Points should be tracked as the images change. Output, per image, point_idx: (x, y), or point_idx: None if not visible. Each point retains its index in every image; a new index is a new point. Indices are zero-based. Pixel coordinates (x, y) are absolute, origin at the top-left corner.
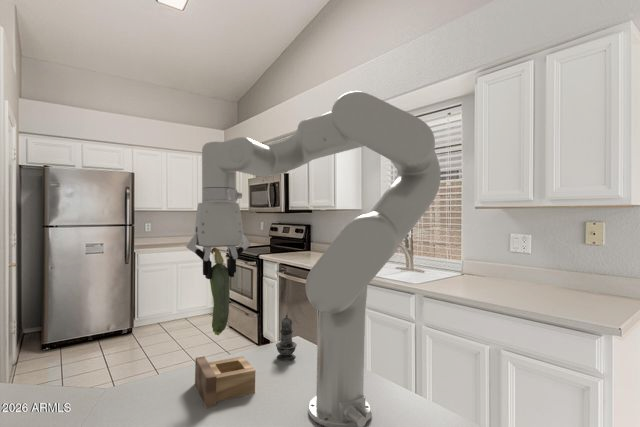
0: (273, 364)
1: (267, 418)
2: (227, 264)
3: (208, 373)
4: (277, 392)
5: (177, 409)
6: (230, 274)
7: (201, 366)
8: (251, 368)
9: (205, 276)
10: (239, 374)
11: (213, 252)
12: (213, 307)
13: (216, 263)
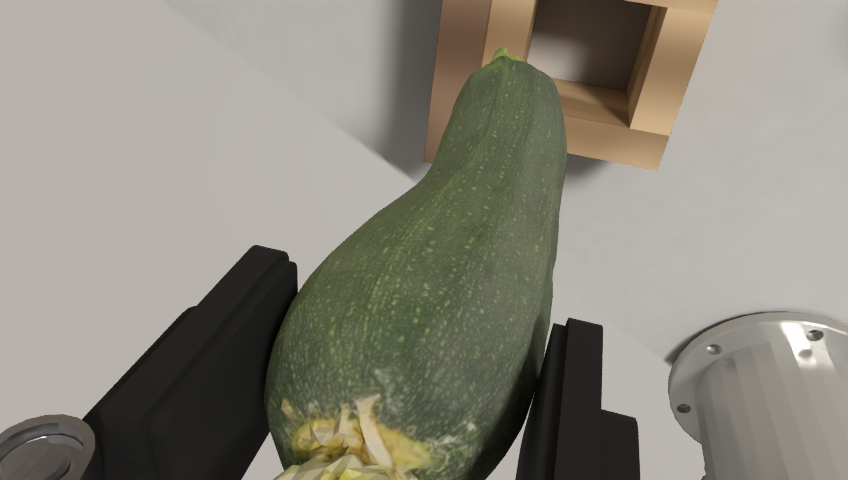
0: None
1: (578, 281)
2: (535, 456)
3: (445, 126)
4: (722, 180)
5: (364, 65)
6: (520, 451)
7: (444, 31)
8: (654, 144)
9: (253, 257)
10: (580, 152)
11: None
12: (435, 158)
13: (314, 460)
